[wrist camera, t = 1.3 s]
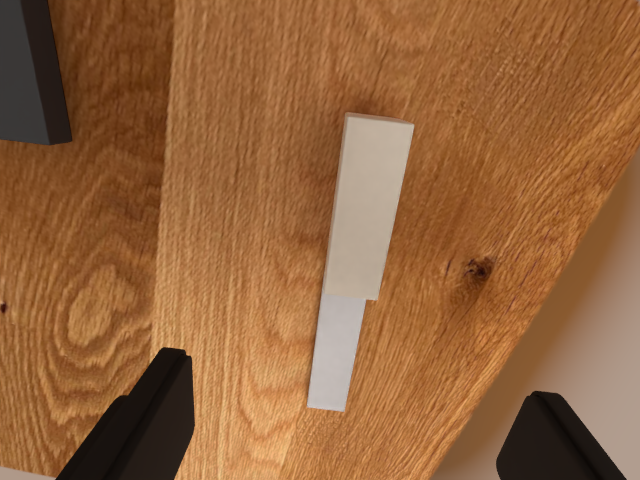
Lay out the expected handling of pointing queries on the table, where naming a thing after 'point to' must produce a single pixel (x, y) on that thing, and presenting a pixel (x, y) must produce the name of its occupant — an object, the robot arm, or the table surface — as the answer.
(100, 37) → the table surface
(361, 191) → the white stepped bar
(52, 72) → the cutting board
